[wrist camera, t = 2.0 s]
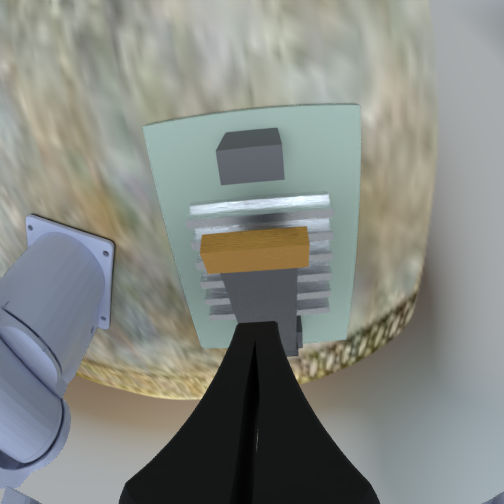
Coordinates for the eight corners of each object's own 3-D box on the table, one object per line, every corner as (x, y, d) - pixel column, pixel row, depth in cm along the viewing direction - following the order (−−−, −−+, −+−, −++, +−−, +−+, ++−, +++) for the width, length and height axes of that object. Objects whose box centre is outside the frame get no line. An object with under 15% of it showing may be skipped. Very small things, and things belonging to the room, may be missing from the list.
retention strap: (300, 344, 22) (301, 358, 22) (245, 348, 23) (245, 362, 22) (306, 222, 12) (309, 244, 11) (202, 230, 12) (199, 253, 12)
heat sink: (325, 296, 22) (329, 315, 21) (214, 303, 23) (210, 323, 21) (327, 190, 18) (334, 204, 16) (191, 202, 19) (184, 217, 17)
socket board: (344, 332, 25) (355, 378, 21) (203, 341, 26) (195, 387, 22) (355, 103, 16) (386, 117, 12) (147, 124, 17) (113, 144, 13)
